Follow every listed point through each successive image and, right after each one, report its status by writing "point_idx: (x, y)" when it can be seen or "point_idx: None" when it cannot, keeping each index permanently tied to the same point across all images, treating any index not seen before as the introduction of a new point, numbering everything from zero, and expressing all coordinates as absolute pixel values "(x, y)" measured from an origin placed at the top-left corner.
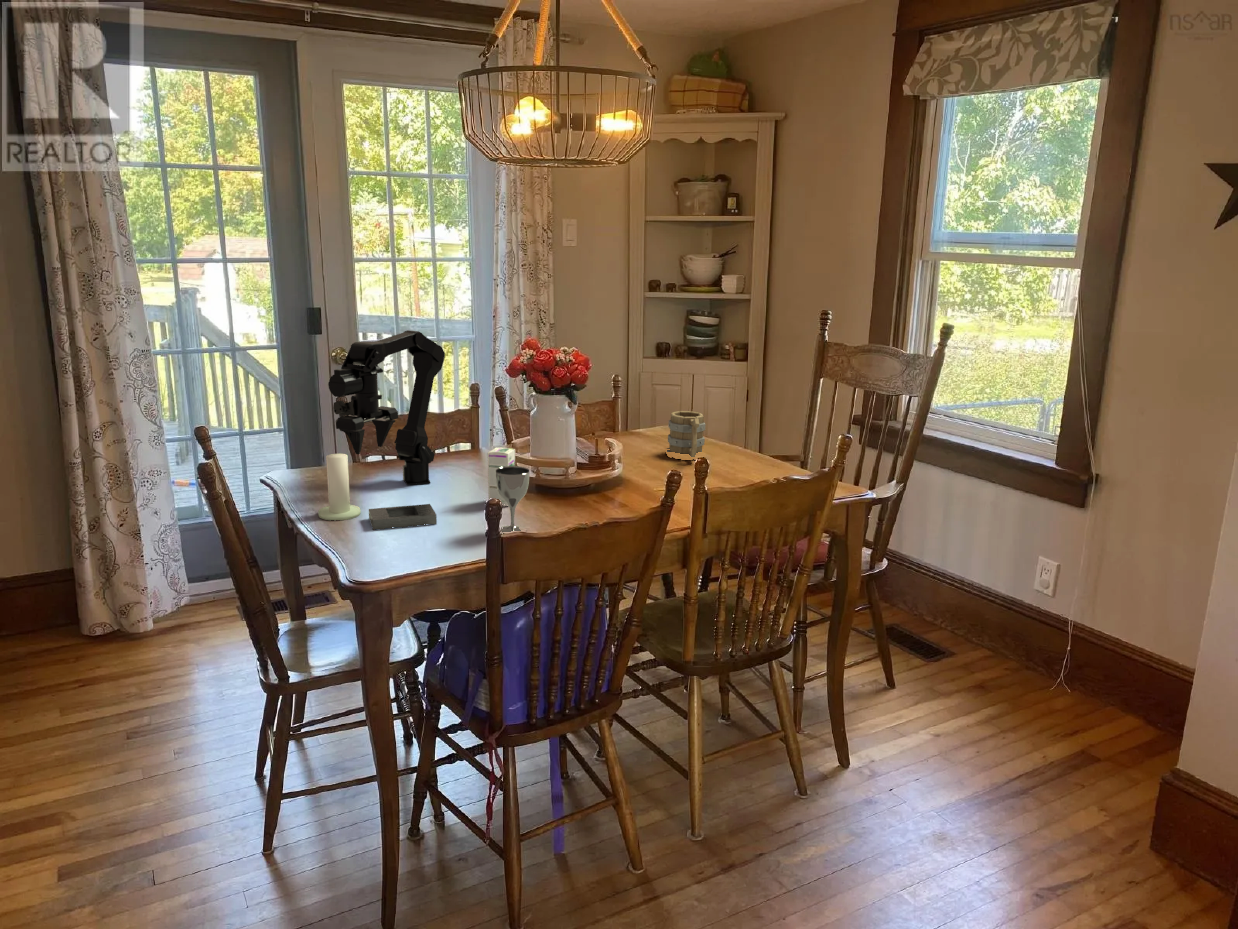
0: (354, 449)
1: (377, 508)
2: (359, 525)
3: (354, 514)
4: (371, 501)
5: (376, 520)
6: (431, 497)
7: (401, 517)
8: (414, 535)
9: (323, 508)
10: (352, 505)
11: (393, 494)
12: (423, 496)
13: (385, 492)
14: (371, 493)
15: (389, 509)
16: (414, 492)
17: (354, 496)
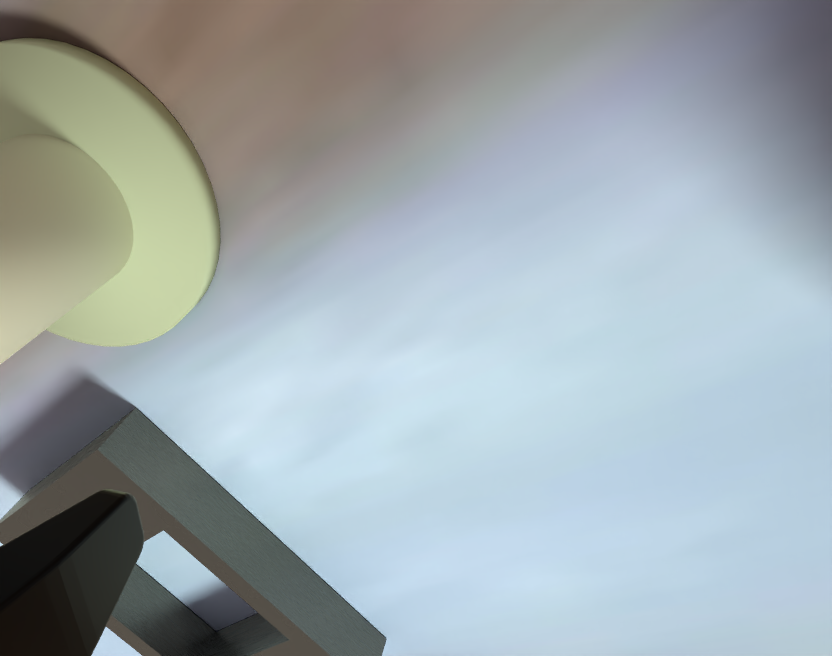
0: (14, 554)
1: (137, 490)
2: (28, 406)
3: (79, 338)
4: (450, 258)
5: (5, 541)
6: (703, 587)
7: (108, 626)
8: (101, 640)
9: (5, 61)
10: (198, 238)
11: (711, 334)
12: (714, 540)
13: (762, 243)
14: (690, 131)
15: (184, 539)
16: (818, 460)
17: (531, 22)
